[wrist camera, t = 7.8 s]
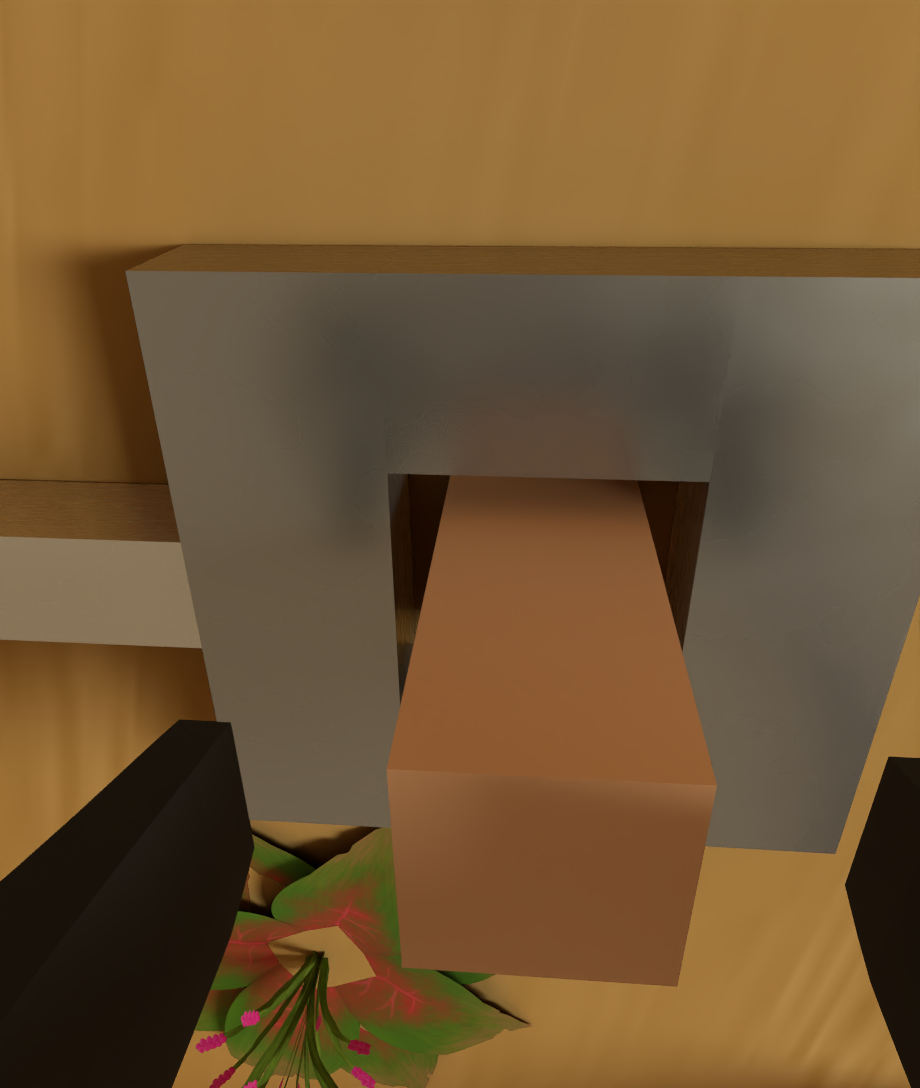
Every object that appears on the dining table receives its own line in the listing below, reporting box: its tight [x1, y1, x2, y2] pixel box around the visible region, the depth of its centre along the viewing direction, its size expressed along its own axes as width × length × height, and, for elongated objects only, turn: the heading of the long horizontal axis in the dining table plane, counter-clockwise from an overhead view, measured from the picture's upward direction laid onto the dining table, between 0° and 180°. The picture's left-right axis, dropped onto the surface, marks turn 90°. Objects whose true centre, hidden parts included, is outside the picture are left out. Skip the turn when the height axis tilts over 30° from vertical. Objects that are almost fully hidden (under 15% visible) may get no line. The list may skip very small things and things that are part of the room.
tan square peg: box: [387, 475, 717, 987], centre depth 11 cm, size 3×3×7 cm
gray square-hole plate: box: [0, 244, 920, 854], centre depth 13 cm, size 16×10×2 cm, turn 90°
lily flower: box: [195, 827, 531, 1088], centre depth 19 cm, size 12×12×5 cm
